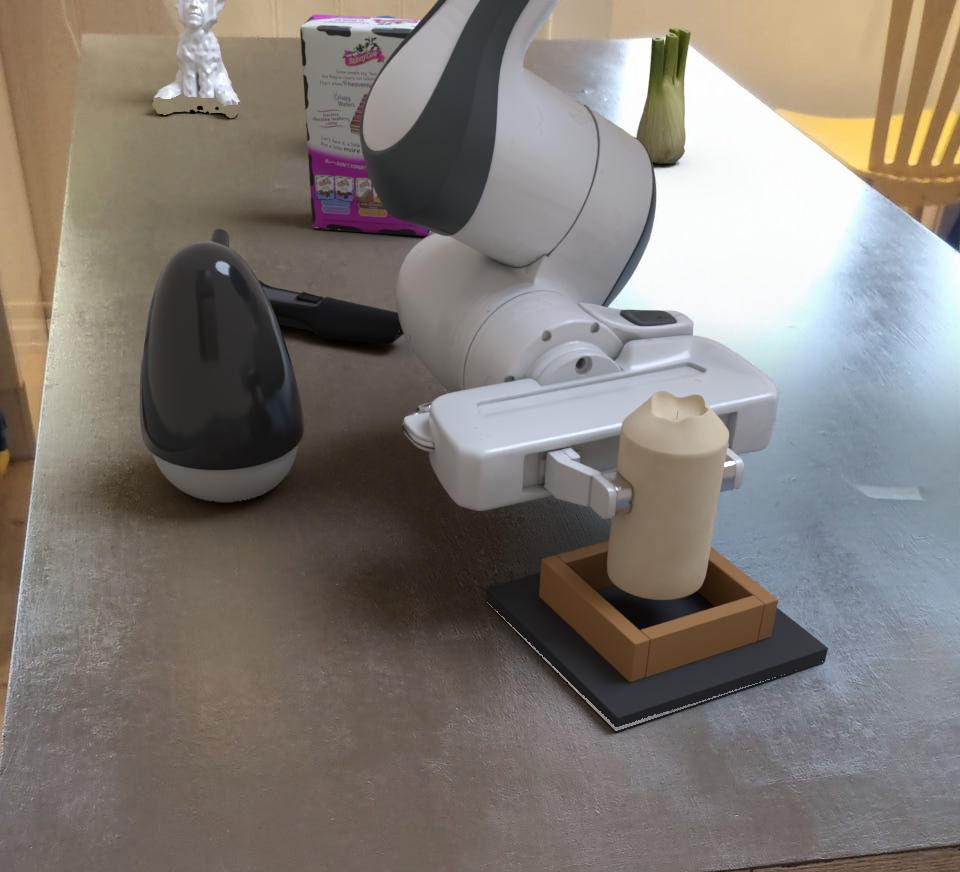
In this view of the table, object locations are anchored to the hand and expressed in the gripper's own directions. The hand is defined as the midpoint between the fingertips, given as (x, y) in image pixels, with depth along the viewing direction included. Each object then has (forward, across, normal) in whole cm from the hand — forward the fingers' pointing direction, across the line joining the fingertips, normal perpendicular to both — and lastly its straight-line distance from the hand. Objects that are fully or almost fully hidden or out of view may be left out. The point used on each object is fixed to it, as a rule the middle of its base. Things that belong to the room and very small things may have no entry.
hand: (677, 491), depth 71 cm
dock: (-1, 0, +9) cm, 9 cm away
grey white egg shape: (-27, -16, +10) cm, 33 cm away
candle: (-1, 0, +6) cm, 6 cm away
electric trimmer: (-48, -2, +10) cm, 49 cm away
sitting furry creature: (-110, +8, +10) cm, 111 cm away
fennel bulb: (-75, +46, +10) cm, 89 cm away
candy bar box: (-68, +12, +10) cm, 70 cm away
